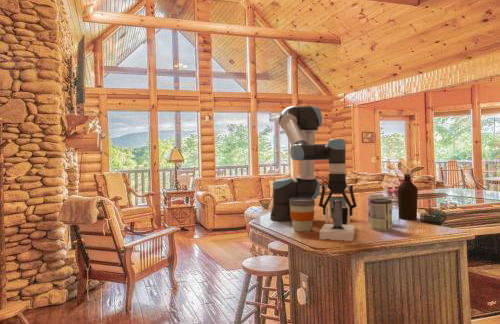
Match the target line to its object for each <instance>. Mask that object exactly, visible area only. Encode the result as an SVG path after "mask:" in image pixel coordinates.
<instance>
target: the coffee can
mask: <svg viewBox="0 0 500 324" xmlns="http://www.w3.org/2000/svg"><path fill="white" fill-rule="evenodd" d="M370 221H371V222H370ZM370 221H369V222H370V229H371V230H373V231H379V232H380V231H383V232H386V231H387V232H388V231H392V230H393V200H392V199H389V198H388V199H387V198H384V199H372V200H370Z"/></svg>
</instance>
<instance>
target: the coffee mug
mask: <svg viewBox="0 0 500 324" xmlns="http://www.w3.org/2000/svg"><path fill="white" fill-rule="evenodd" d="M348 208H349V206H348V205H346V206H342V225H348ZM331 209H332V217H333V206H332V207H331Z"/></svg>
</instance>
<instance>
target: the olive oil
mask: <svg viewBox="0 0 500 324" xmlns="http://www.w3.org/2000/svg"><path fill="white" fill-rule="evenodd" d="M403 174H404V173H403ZM411 180H412V178H411V174H410V173H405V174H404V176H403V181H402V182H401V184H400V185H399V186H398V187H397V192H396V193H397V207H398V218H399V219H400V220H411V221H412V220H413V221H414V220H417V219H418V198H419V197H418V195H419V194H418V193H419V192H418V188H417V186H416V185H415V184H414V183H413V182H412V181H411Z"/></svg>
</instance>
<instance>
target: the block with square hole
mask: <svg viewBox="0 0 500 324" xmlns="http://www.w3.org/2000/svg"><path fill="white" fill-rule="evenodd" d="M355 230H356V225H355V224H347V225H342V229H333V223H324V224H323V225H322V226H321V229H320V230H319V240H325V239H330V240H331V241H343V240H344V241H345V242H347V241H348V242H353V241H354V238H355V233H356V231H355ZM330 240H329V241H330ZM344 241H343V242H344Z"/></svg>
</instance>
